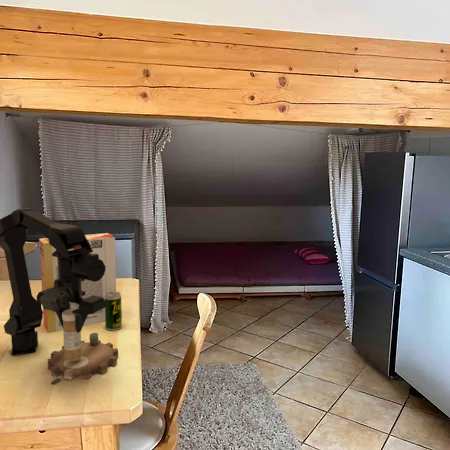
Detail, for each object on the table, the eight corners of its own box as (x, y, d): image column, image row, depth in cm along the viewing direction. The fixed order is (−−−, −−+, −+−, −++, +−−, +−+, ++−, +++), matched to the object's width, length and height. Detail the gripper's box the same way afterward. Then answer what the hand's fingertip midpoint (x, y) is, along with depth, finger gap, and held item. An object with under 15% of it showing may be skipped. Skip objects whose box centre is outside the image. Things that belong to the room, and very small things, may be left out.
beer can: (102, 328, 140) (101, 294, 137) (113, 323, 144) (112, 290, 142) (113, 332, 137) (113, 297, 135) (125, 326, 142) (124, 293, 140)
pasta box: (110, 312, 154) (108, 233, 149) (116, 319, 148) (114, 237, 143) (43, 324, 142) (39, 238, 137) (47, 332, 136) (43, 243, 130)
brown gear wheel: (33, 376, 109) (32, 358, 108) (68, 344, 128) (68, 328, 127) (102, 382, 107) (101, 364, 106) (127, 348, 125) (127, 333, 124)
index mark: (57, 379, 108) (57, 377, 108) (60, 380, 108) (60, 378, 108) (50, 384, 106) (50, 382, 106) (54, 384, 106) (53, 383, 105)
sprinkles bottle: (76, 352, 116) (75, 306, 113) (84, 358, 113) (83, 311, 110) (60, 358, 112) (58, 311, 110) (68, 364, 109) (67, 316, 107)
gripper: (17, 277, 105) (21, 335, 107) (76, 288, 98) (78, 350, 100) (51, 267, 115) (53, 320, 117) (106, 276, 108) (107, 332, 110)
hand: (71, 330), depth 111 cm, fingers closed on sprinkles bottle, 4 cm apart
